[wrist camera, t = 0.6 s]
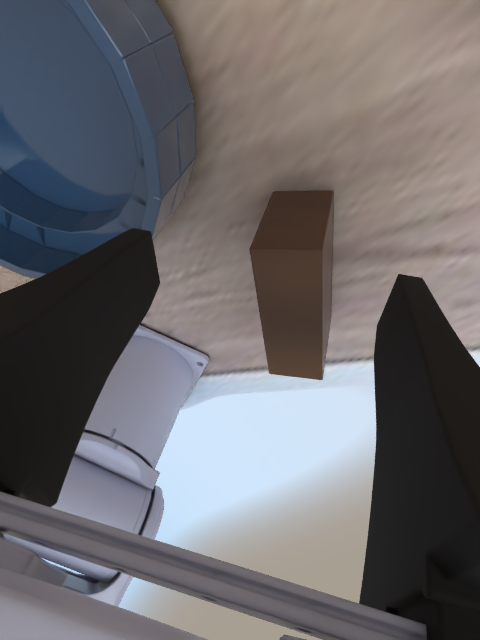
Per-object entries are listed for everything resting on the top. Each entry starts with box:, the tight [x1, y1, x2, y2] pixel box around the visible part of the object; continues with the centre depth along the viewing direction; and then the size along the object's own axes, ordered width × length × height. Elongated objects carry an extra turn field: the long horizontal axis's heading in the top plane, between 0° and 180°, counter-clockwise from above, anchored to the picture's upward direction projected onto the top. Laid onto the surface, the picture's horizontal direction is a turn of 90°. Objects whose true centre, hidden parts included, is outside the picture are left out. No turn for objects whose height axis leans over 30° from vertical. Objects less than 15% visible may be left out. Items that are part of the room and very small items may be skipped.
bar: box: [250, 191, 334, 380], centre depth 20 cm, size 8×3×5 cm, turn 9°
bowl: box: [0, 0, 196, 279], centre depth 17 cm, size 15×15×5 cm
